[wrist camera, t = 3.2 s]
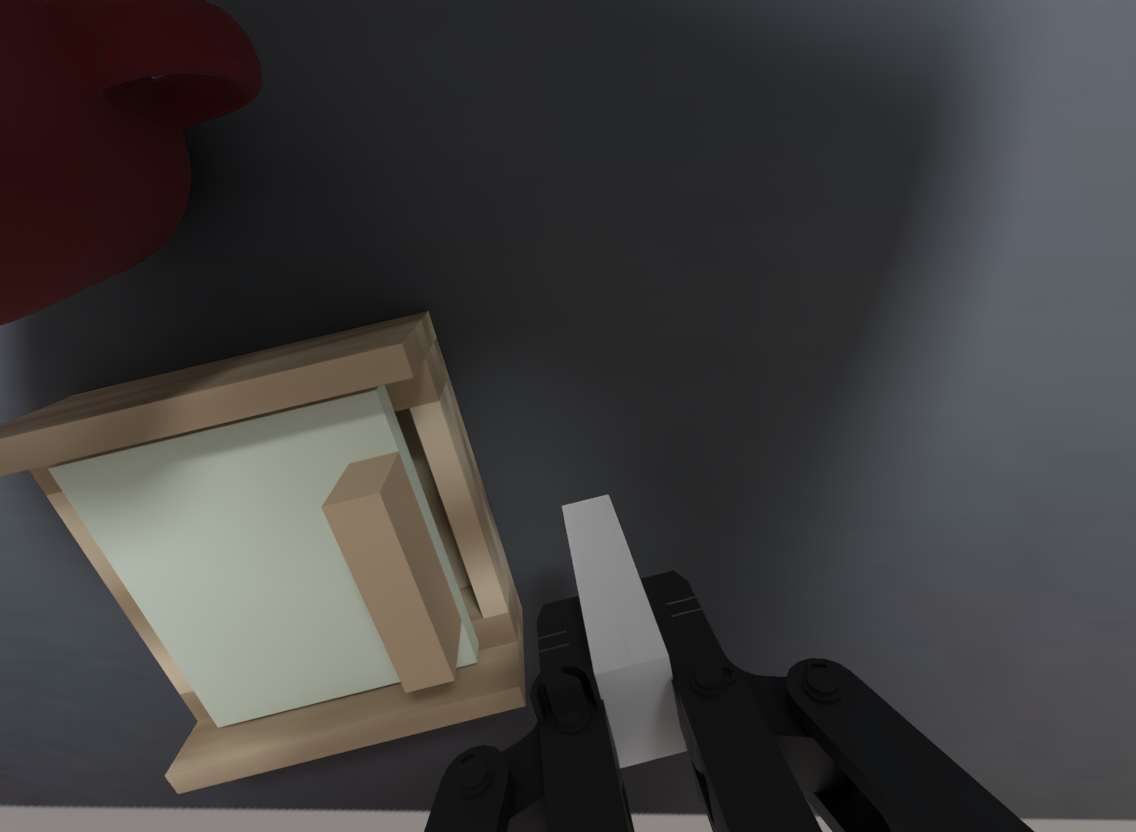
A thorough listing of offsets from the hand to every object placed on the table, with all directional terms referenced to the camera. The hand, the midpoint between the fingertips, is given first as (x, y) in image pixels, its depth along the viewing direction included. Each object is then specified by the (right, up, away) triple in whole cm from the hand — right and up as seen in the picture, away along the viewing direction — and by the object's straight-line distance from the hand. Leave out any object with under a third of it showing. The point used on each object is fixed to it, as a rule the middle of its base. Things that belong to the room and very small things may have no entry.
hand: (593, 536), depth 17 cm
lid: (-10, -1, +2) cm, 11 cm away
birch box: (-11, 0, +5) cm, 12 cm away
